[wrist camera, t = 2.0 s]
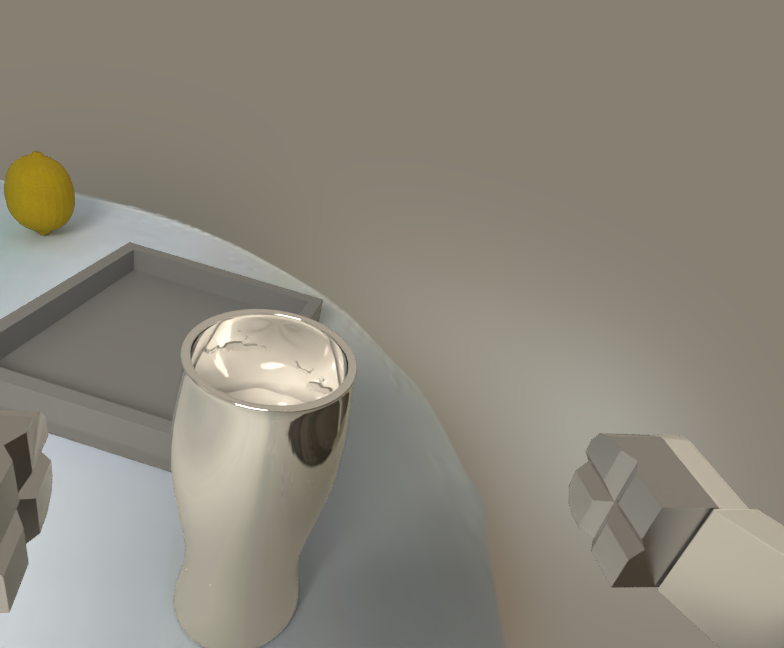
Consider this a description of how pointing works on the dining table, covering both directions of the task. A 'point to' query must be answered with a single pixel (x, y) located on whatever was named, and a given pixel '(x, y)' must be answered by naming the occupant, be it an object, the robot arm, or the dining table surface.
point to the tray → (121, 346)
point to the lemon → (39, 193)
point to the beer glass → (253, 466)
